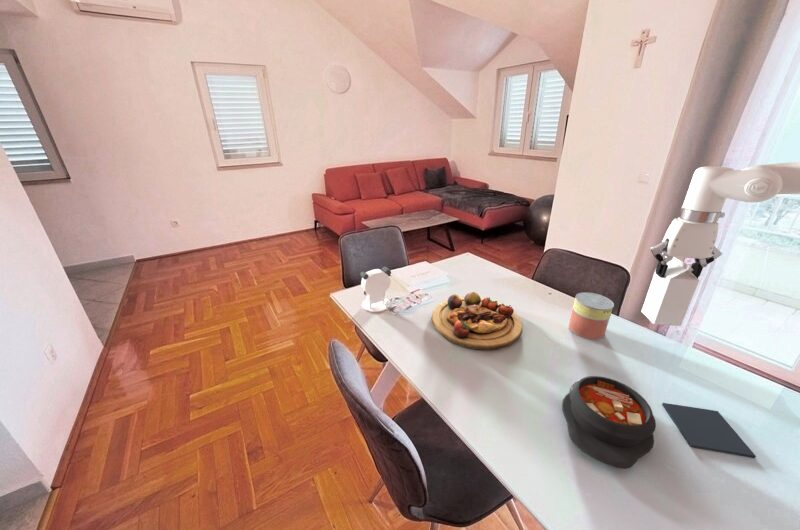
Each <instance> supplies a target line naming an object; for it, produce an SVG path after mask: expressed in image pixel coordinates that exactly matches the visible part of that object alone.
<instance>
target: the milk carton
mask: <svg viewBox="0 0 800 530" xmlns="http://www.w3.org/2000/svg"><path fill="white" fill-rule="evenodd" d="M667 265H668V268H667V271H666V273H665V276H664V277H663V278H660V277H659V276H658V275H657V274H656V272H655V271H654V272H653V275H652V279H651V281H650V285H649V288H648V290H647V293H646V296H645V299H644V302H643V305H642V308H641V311H640V312H641V314H643V315H644V316H645V317H646V319H648V320H649V322H651V324H653V325H660V326H661V325H663V326H672V327H673V326H675V327H681V326H682V324H683V322H684V319H685V316H686V314H687V312H688V310H689V307H690V305H691V302H692V300H693V298H694V295H695V292H696V289H697V288H698V285H699V282H700V279H699V277H698V278H697V277H696V276H695V275H694V274H693V273H692V272H691V271H693V269H692V268H691V265H689V264H688V263H686V262H684V261H682V260H681V259H679V258H678V257H673V258H672V259H671V260H670V261H669V262H668V263H667Z"/></svg>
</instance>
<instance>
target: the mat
mask: <svg viewBox="0 0 800 530" xmlns="http://www.w3.org/2000/svg"><path fill="white" fill-rule="evenodd" d="M662 407H663V408H664V410H665V411H666V412H667V414H668V416H669V417H670V419H671V420H672V422H673V423H674V424H675V426H676V428H677V429H678V428H679V429H678V431H679V432H680V433H681V435H682V436H683V438H684V439H685V441H686V443H687V444H688V446H689V447H690V448H695V449H701V450H706V451H712V452H718V453H724V454H730V455H734V456H740V457H741V456H742V457H746V458H752V459H755V458H757V455H756V454H755V453H754V452H753V451H752V450H751V448H750V447H749V446H748V445H747V444H746V443H745V441H744V440H743V439H742V438H741V436H740V435H739V434H738V433H737V432H736V430H735V429H734V428H733V427H732V426H731V425H730V424H729V423H728V421H727V420H726V419H725V418H724V417H723V415H722V414H721V413H720V412H719V411H718V410H714V409H707V408H701V407H693V406H688V405H680V404H674V403H667V402H662Z"/></svg>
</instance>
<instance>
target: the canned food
mask: <svg viewBox="0 0 800 530" xmlns="http://www.w3.org/2000/svg"><path fill="white" fill-rule="evenodd" d="M614 307H615V303H614V301H613V300H611V299H610V298H608V297H606V296H604V295H603V294H599V293H595V292H589V291H583V292H579V293H576V295H575V298H574V302H573V306H572V310H571V313H570V318H569V321H568V323H567V327H568V330H569V331H570V332H571V333H573V334H574V335H577V337H580V338H582V339H586V340H592V341H599V340H602V339H603V338H604V337H605V334H606V331H607V328H608V325H609V323H610V319H611V316H612V312H613V309H614Z"/></svg>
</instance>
